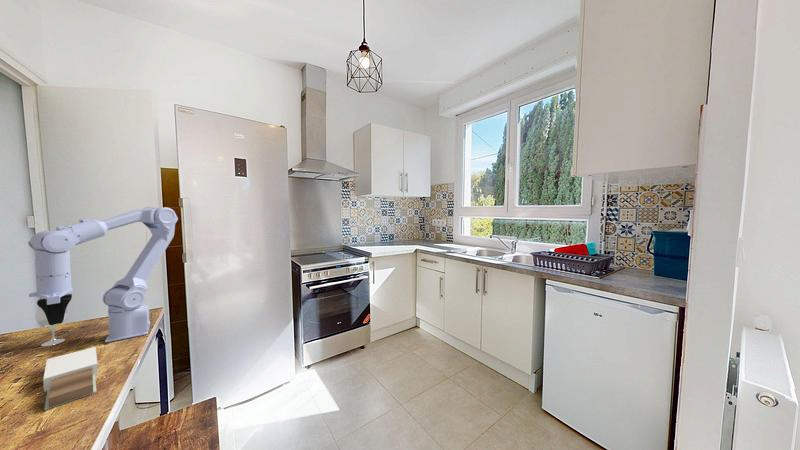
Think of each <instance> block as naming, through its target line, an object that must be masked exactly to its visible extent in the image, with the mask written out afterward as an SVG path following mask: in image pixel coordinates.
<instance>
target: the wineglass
mask: <svg viewBox="0 0 800 450" xmlns="http://www.w3.org/2000/svg"><path fill="white" fill-rule="evenodd" d="M67 317H68V308H67V307H66V311H65V315H64V320H63V321H65V320H66V319H67ZM35 321H36V323H37V324H38V325H40V326H44V327H45V326H46V327H48V326H49V330H50V332H51V339H50V340H49V341H46V342H43V343H41V344H40V346H41V347H51V346H55V345H59V344H60V343H63V342H65V341H66V338H55V331H56V325H49V323H48V320H47V318H46V315H45V313H44V311H43V310H42V309H41V308H40V307H39V306H38V308H37V310H36V313H35Z"/></svg>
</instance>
